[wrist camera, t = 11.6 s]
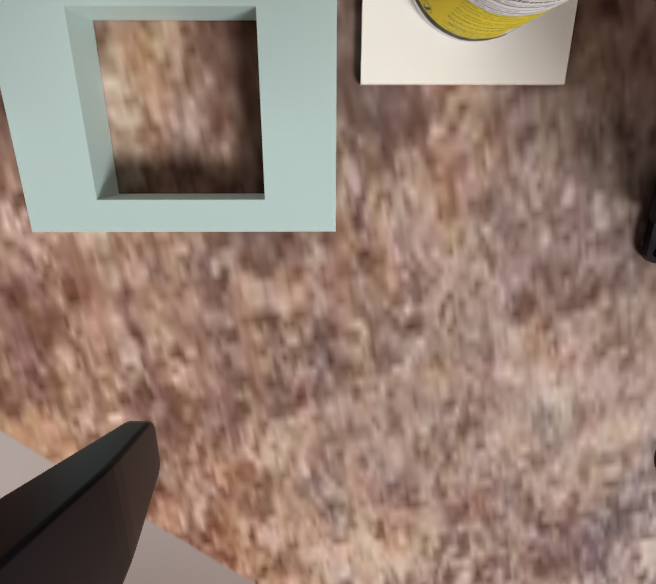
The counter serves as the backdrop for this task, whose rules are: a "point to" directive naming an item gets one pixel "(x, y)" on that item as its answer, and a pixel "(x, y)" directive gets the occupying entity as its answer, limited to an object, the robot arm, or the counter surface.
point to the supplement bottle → (481, 16)
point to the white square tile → (461, 49)
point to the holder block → (94, 135)
